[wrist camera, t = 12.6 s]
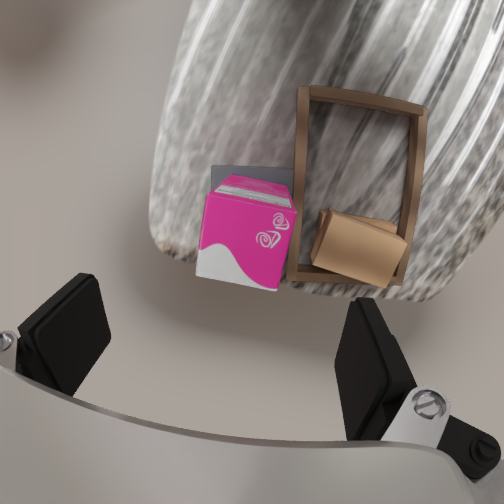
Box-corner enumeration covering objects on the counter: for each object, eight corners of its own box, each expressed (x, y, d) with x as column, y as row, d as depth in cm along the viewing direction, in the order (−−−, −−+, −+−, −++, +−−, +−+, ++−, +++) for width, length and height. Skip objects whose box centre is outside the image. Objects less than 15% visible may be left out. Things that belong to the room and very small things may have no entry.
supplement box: (276, 239, 30) (276, 296, 19) (220, 227, 30) (189, 277, 19) (290, 184, 28) (298, 212, 17) (230, 171, 28) (200, 191, 17)
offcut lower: (319, 208, 29) (322, 214, 27) (389, 220, 29) (397, 227, 26) (311, 253, 31) (313, 262, 29) (378, 262, 31) (385, 271, 28)
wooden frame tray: (297, 89, 24) (299, 84, 22) (418, 110, 24) (432, 108, 21) (285, 271, 31) (286, 284, 29) (395, 277, 31) (404, 289, 28)
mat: (212, 165, 28) (211, 166, 27) (293, 168, 27) (293, 169, 27) (212, 241, 31) (211, 242, 30) (288, 245, 30) (288, 247, 30)
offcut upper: (328, 207, 26) (333, 214, 24) (398, 235, 27) (407, 243, 24) (310, 254, 28) (312, 264, 26) (378, 277, 29) (385, 288, 26)
